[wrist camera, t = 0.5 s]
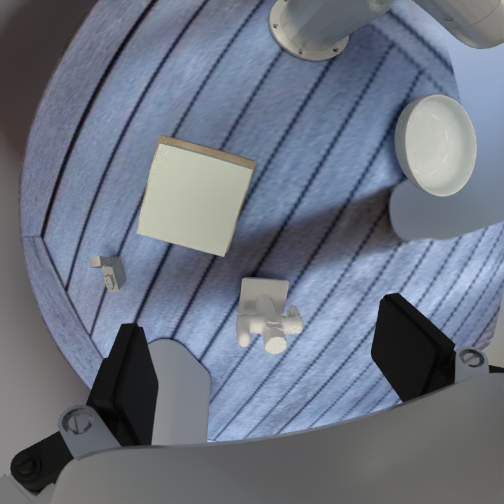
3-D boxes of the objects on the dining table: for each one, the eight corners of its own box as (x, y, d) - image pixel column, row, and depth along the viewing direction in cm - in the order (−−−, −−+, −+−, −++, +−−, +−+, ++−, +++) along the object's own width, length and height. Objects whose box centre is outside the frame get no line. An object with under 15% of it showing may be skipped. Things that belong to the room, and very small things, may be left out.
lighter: (126, 279, 47) (112, 303, 39) (116, 280, 46) (102, 304, 39) (115, 238, 44) (98, 257, 36) (105, 239, 44) (87, 259, 36)
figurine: (283, 309, 52) (306, 366, 38) (228, 306, 51) (235, 366, 37) (290, 271, 50) (319, 322, 36) (233, 267, 48) (242, 320, 34)
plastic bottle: (113, 359, 52) (77, 481, 26) (171, 328, 51) (152, 469, 25) (162, 403, 58) (152, 517, 32) (219, 379, 56) (229, 506, 30)
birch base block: (166, 135, 40) (160, 135, 35) (251, 159, 43) (256, 162, 38) (144, 219, 44) (137, 229, 39) (225, 241, 47) (227, 252, 42)
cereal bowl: (381, 190, 46) (405, 199, 40) (377, 91, 40) (401, 87, 34) (451, 187, 48) (476, 195, 41) (450, 102, 42) (476, 102, 35)
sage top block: (166, 142, 36) (159, 143, 31) (247, 166, 38) (252, 169, 34) (145, 222, 39) (137, 233, 35) (222, 243, 42) (224, 256, 37)
